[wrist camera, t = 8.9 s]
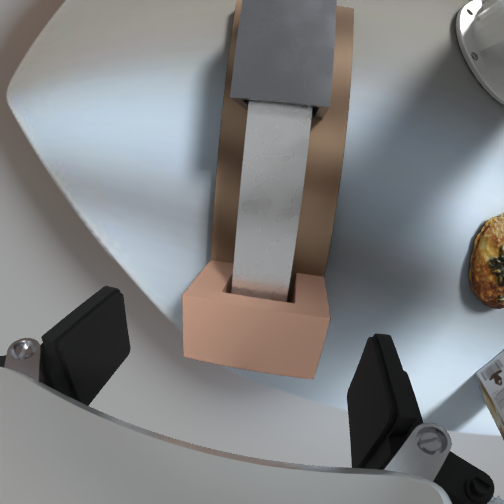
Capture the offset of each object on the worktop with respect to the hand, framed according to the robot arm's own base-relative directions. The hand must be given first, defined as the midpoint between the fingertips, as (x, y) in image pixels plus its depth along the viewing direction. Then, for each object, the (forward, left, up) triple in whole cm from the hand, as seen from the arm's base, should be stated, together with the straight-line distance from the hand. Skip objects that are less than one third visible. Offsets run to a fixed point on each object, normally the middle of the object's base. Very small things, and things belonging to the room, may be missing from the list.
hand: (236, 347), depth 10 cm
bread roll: (-1, +25, -18) cm, 31 cm away
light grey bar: (-2, 0, -15) cm, 15 cm away
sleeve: (-15, 0, -15) cm, 22 cm away
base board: (-6, 0, -17) cm, 18 cm away
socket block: (+6, 0, -16) cm, 17 cm away
